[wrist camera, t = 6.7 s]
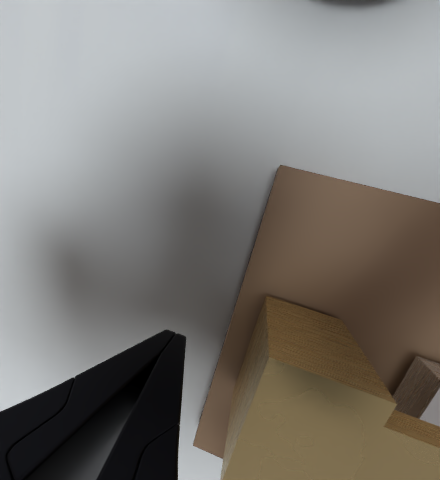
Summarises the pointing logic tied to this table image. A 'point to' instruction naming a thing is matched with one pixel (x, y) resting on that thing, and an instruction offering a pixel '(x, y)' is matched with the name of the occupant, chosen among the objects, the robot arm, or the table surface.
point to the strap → (420, 391)
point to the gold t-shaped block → (319, 408)
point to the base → (337, 278)
